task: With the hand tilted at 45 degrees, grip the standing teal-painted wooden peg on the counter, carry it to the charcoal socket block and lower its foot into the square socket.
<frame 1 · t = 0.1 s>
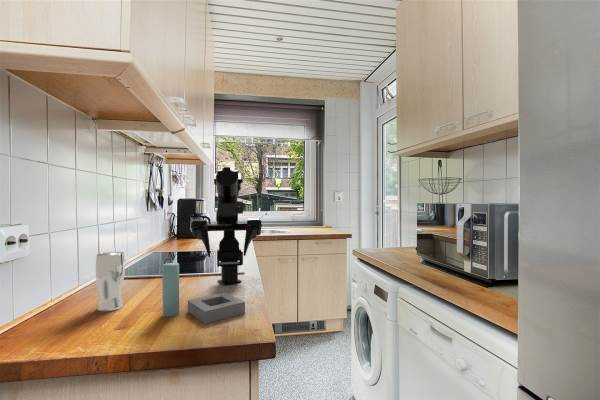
hand: (227, 256, 85), 15 cm above the counter, tool tilted 35°, fingers open, 9 cm apart
socket block: (216, 312, 84), on the counter
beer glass: (110, 308, 88), on the counter
peg: (171, 314, 83), on the counter
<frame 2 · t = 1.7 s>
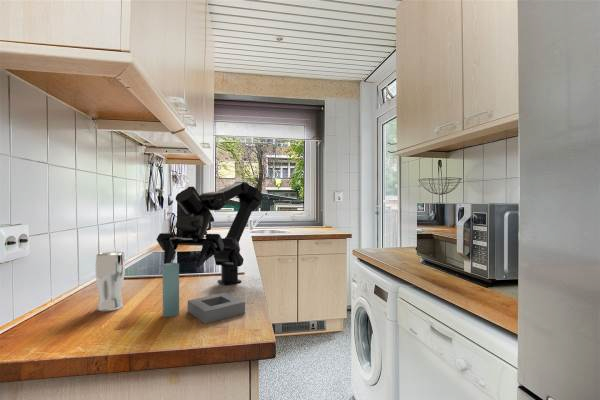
hand: (180, 266, 88), 11 cm above the counter, tool tilted 45°, fingers open, 9 cm apart
nothing on the counter moved.
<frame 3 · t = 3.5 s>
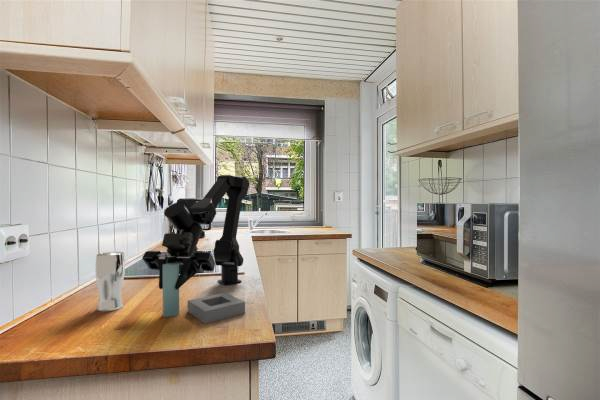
hand: (168, 288, 82), 7 cm above the counter, tool tilted 45°, fingers closed on peg, 4 cm apart
peg: (171, 314, 83), on the counter, touching gripper
everything else where it was.
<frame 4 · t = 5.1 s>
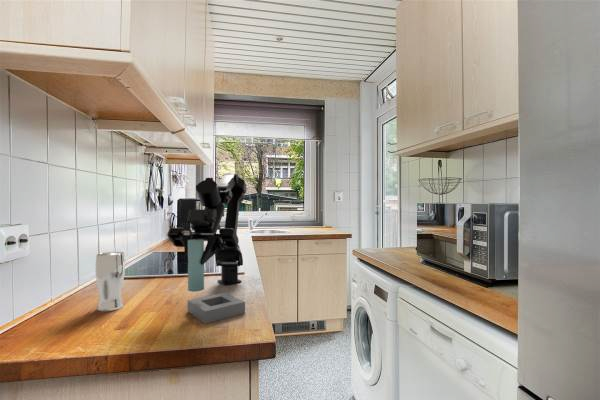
hand: (193, 263, 83), 13 cm above the counter, tool tilted 45°, fingers closed on peg, 4 cm apart
peg: (196, 289, 84), point 6 cm above the counter, touching gripper
everything else where it was.
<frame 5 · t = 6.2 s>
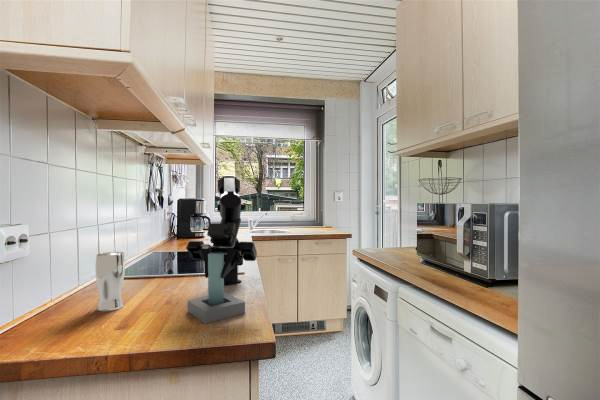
hand: (214, 277, 83), 10 cm above the counter, tool tilted 45°, fingers closed on peg, 4 cm apart
peg: (216, 302, 85), point 3 cm above the counter, touching gripper
everything else where it was.
when the fingers open (8 cm above the counter, at t = 6.7 s): peg drops 1 cm, resting in socket block.
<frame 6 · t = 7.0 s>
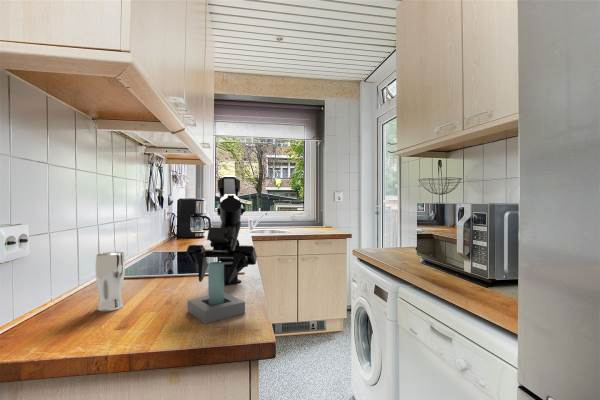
hand: (214, 281, 83), 9 cm above the counter, tool tilted 45°, fingers open, 7 cm apart
peg: (216, 312, 84), resting in socket block
everything else where it was.
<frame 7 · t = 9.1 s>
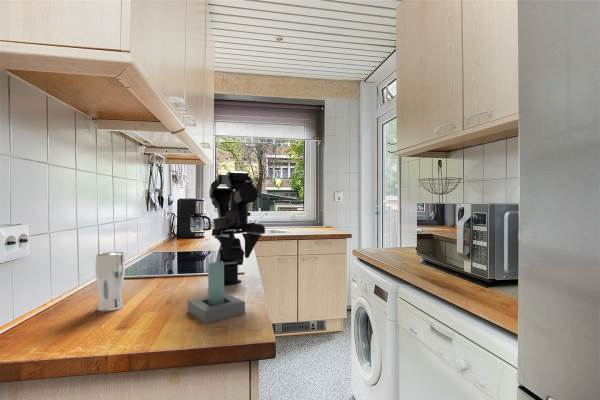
hand: (236, 258, 99), 12 cm above the counter, tool pointing down, fingers open, 9 cm apart
nothing on the counter moved.
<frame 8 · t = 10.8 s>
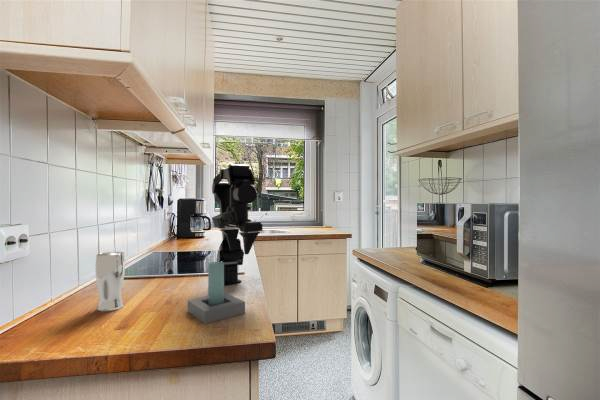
hand: (239, 252, 102), 13 cm above the counter, tool pointing down, fingers open, 9 cm apart
nothing on the counter moved.
at the end: peg 0.0 cm off-centre on the socket block, point 0.0 cm above the socket block's base; peg tilted 0°; the gripper is holding nothing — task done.
